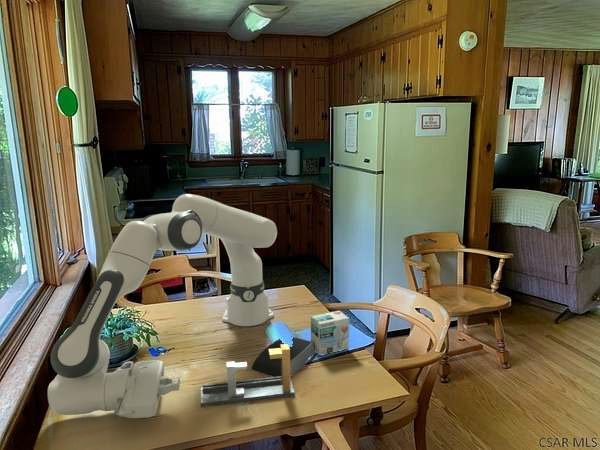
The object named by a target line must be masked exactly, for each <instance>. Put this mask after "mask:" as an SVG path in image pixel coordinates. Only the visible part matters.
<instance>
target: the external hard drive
mask: <svg viewBox="0 0 600 450" xmlns="http://www.w3.org/2000/svg"><path fill="white" fill-rule="evenodd" d="M292 337H293V339H292V341H293V344H292V345H293V346H292V347H289V348H290V378H291V377H292V376H293V375H295V374H296V373H297V372H298V371H300V370H301V369H302V368H303V367H304V366H306V364H307V363H306V361H307V360H308V358H309V357H310V356H312V355H313V354H314V353H315V351H316V350H315V346H314V343H313V342H311V340H306V339H304V338H298V337H294V336H292ZM281 344H284V343H282V341H281V340H280V338H279V339H277V340H275V341H274V342H272V343H270V345H268V346H266V347H265V349H263V350H262V351H261V352H260V353H259V354H258V355H257V357H255V359H254V361H253V363H252V365H251V369H250V370H251V371H253V372H257V373H260V374H263V375H266V376H270V377H278V376H281V358H276V359H270V356H269V349H276V348H281V347H280V345H281Z"/></svg>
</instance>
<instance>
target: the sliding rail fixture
mask: <svg viewBox="0 0 600 450" xmlns="http://www.w3.org/2000/svg"><path fill="white" fill-rule="evenodd" d="M280 347H281V348H276V349H269V356H270V359H276V358H281V376H278V377H272V376H270V377H264V378H253V379H252V378H251V379H244V380H236V389H238V388H244V396H239V397H231V398H228V381H227V382H225V381H224V382H217V383H216V382H215V383H206V384H202V387H201V388H200V404H199V405H200V408H207V407H209V408H210V407H217V406H225V405H233V404H240V403H249V402H251V403H252V402H258V401H266V400H267V401H268V400H273V399H274V400H276V399H282V398H290V397H291V398H292V397H295V395H296V392H295V389H294V385H293V382H292V380H291V377H290V348H289V345H288V344H281V345H280Z"/></svg>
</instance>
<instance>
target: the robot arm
mask: <svg viewBox="0 0 600 450" xmlns="http://www.w3.org/2000/svg"><path fill="white" fill-rule="evenodd" d="M171 208H172V209H171V211H170V212H166V213H164V212H163V213H158V214H157V213H156V214H150V215H147V216H145V217H143V218H141V220H131V221H129V222H127V223H126V224H125V225H124V226H123V228H122V229H121V230H120V232H119V233H118V235H117V236H116V238H115V240H114V242H113V244H112V246H111V247H110V250H109V252H108V254H107V257H106V258H105V260H104V263H103V265H102V267H101V270H100V272H99V275H98V277H97V278H96V281H95V283H94V285H93V286H92V288H91V290H90V291H89V294H88V295H87V296H86V299H85V300H84V303H83V305H82V307H81V309H80V310H79V312H78V314H77V315H76V318H75V320H74V321H73V323H72V324H71V326H70V327H68V330H67V331H65V333H63V335H61V336H60V337H59V338H58V339H57V340H56V342H55V343H54V345H53V346H52V349H51V352H50V363H51V366H52V369H53V370H54V372H55V373H57V375H56V376H55V378H54V379H52V381H51V382H50V383H49V385H48V387H47V390H46V392H47V393H46V395H47V402H48V405H49V407H50V409H51V411H52V412H54V413H55V414H57V415H61V416H62V415H63V416H77V415H85V414H86V415H87V414H91V413H93V412H97V411H102V412H111V411H113V412H114V413H115V415H116V416H118V417H125V418H129V419H144V418H153V417H154V416H156V415H157V413H158V406H159V402H160V396H165V395H167V394H170V393H171V392H175V391H176V392H177V391H179V390H180V386H181V379H180V377H174V378H173V377H169V376H165V375H164V374H165V362H164V361H163V360H159V359H152V360H142V361H141V360H140V361H137V362H135V363H134V361H133V360H132V361H131V360H128V361H125V362H124V363H123V364H122V365H121V366H120V367H118V368H117V369H116V370H114V372H108V370H109V369H108V368H109V364H110V363H109V359H110V350H109V347H108V345H107V344H106V343H105V342H106V341H104V340H103V339H100V337H101V333H102V331H103V329H104V327H105V325H106V324H107V323H106V322H107V320H108V319H109V316H110V314H111V312H112V311H113V308H114V307H115V304H116V303H117V302H118V301H119V300H120V299H121V298H122V297H124V296H125V295H127V294H129V293H133V292H134V291H136V290H137V289H139V287H140V286H141V285H142V283H143V282H144V279H145V278H146V275H147V273H148V271H149V268H150V267H151V264H152V261H153V260H154V259H153V258H154V256H155V254H156V252H158V250H159V251H166V252H168V251H169V252H174V251H181V252H182V251H188V250H191V249H194V248H195V247H197V245H198V244H199V242H200V240H201V238H202V234H205V235H207V236H211V237H213V238H214V237H215V238H218V239H220V240H221V242H222V243H223V246H224V248H225V250H226V253H227V256H228V258H229V263H230V275H231V276H230V277H231V278H230V279H231V282H230V287H229V288H230V294H229V296H228V297H225V298H226V299H225V303H226V305H227V306H226V309H225V311H224V314H223V316H222V322H224V323H225V322H226V323H229V324H232V325H233V326H238V327H239V326H240V327H252V326H258V325H261V324H263V323H265V322H266V321H268V320H269V319H272V318H274V317H275V314H274V312H273V311H272V310H271V309H270V304H269V303H270V302H269V295H267V293H266V292H265V283H264V280H263V262H262V259H261V257H260V256H259V255H258V253H256V252H255V249H256V248H257V249H258V248H259V249H261V248H269V247H271V246H272V245H273V244H274V243H275V241H276V239H277V235H278V228H277V225H276V223H275V222H274V221H273V220H271V219H269V218H267V217H263V216H262V215H258V214H255V213H253V212H250V211H246V210H244V209H243V210H242V209H239V208H236V207H233V206H229V205H227V204H224V203H222V202H219V201H217V200H214V199H212V198H208V197H205V196H201V195H198V194H191V193H184V194H181V195H179V196H178V197H177V198H176V199H175V200H174V202H173V204H172V207H171ZM254 248H255V249H254Z"/></svg>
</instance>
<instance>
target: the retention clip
mask: <svg viewBox="0 0 600 450" xmlns="http://www.w3.org/2000/svg"><path fill="white" fill-rule="evenodd" d="M247 364H248V363H247V361H243V362H235V361H226V374H227V377H226V379H227V382H228V398H231V397H239V396H244V388H238V389H236V381H237V380H236V377H237V376H236V371H239V370H247V369H248V365H247Z"/></svg>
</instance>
